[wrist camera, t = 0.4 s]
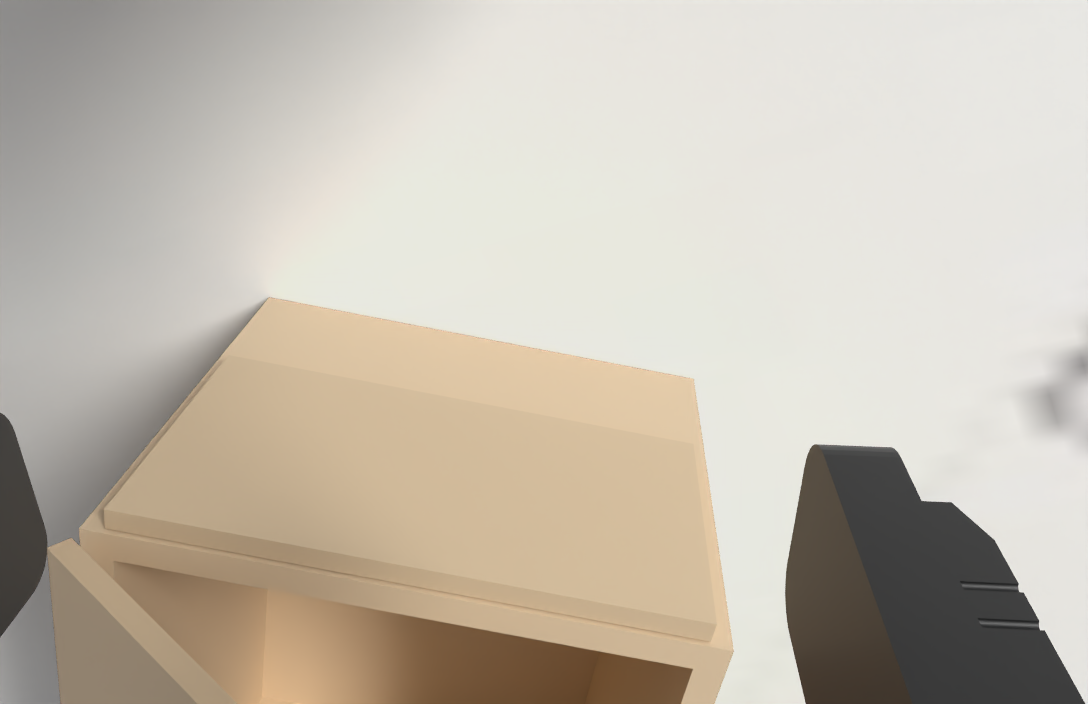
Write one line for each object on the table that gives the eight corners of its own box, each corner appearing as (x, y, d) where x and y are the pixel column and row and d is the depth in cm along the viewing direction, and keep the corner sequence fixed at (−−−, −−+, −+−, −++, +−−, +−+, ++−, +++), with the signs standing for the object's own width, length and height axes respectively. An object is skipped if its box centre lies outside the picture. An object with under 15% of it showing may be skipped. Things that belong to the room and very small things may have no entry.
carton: (269, 282, 30) (77, 508, 19) (697, 364, 30) (741, 632, 20) (250, 699, 39) (111, 1013, 28) (582, 760, 39) (568, 1094, 28)
